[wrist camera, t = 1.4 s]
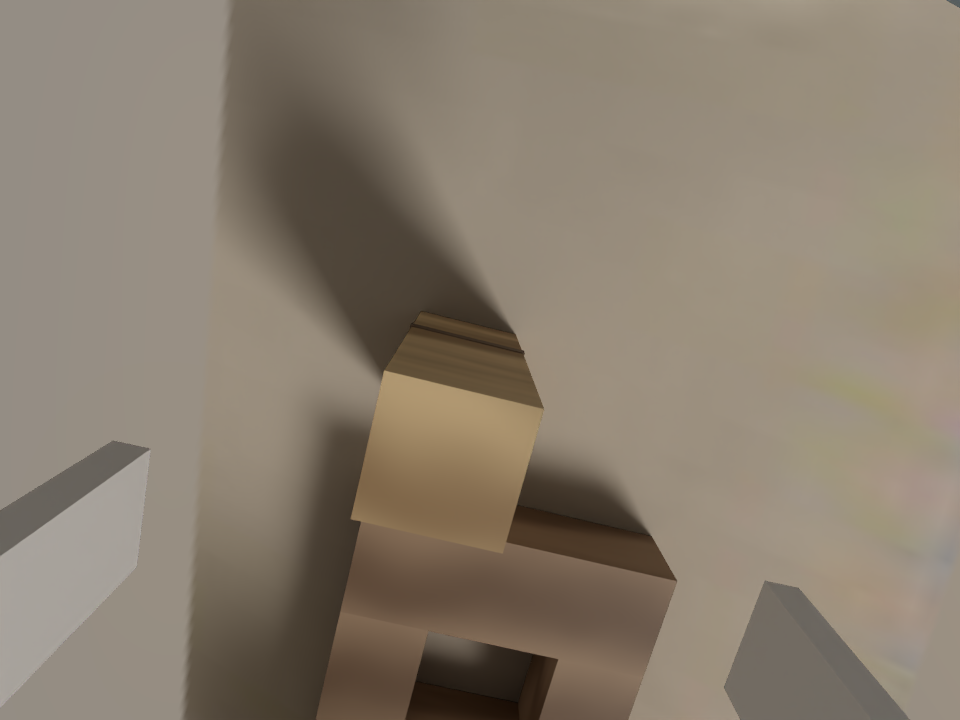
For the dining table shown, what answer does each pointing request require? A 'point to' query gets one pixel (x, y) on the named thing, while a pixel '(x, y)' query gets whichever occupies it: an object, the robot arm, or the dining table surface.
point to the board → (499, 620)
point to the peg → (450, 435)
